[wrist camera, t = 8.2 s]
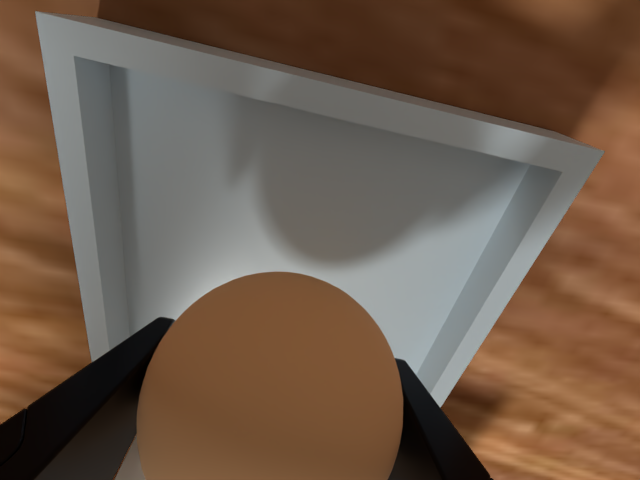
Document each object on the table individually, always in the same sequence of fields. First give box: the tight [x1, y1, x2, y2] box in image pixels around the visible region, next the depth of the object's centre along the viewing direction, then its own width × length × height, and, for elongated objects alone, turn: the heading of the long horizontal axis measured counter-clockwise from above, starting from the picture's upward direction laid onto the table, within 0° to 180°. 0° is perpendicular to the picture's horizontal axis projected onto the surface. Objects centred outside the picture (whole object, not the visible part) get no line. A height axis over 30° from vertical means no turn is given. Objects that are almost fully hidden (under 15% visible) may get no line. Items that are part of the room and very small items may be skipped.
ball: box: [137, 271, 403, 480], centre depth 8 cm, size 6×6×6 cm
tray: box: [35, 11, 605, 408], centre depth 12 cm, size 13×13×2 cm
